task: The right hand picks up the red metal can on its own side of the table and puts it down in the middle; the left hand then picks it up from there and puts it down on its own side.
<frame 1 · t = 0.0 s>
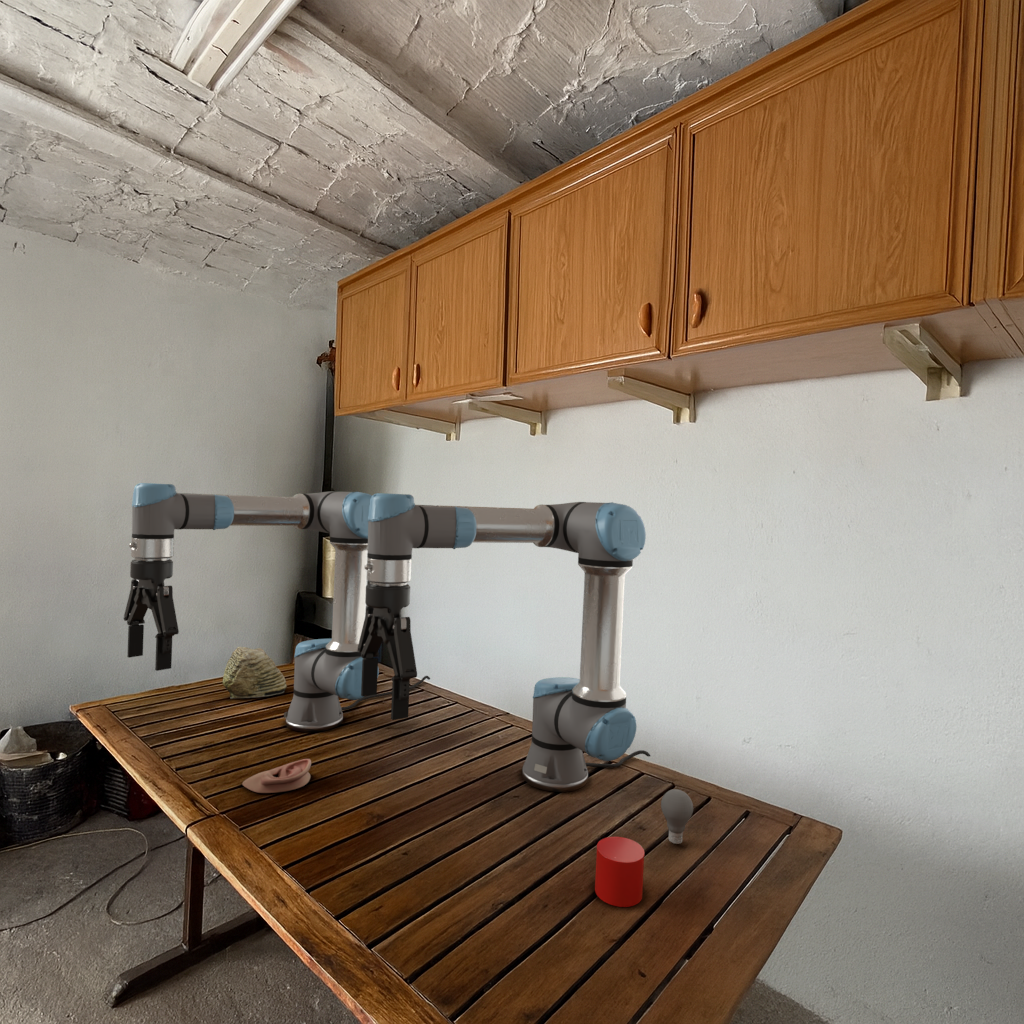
left hand: (148, 662, 129), 28 cm above the table, tool pointing down, fingers open, 13 cm apart
right hand: (383, 706, 109), 28 cm above the table, tool pointing down, fingers open, 13 cm apart
fossil: (254, 694, 198), on the table
anatomical model: (277, 783, 139), on the table
light bulb: (675, 843, 121), on the table
can: (618, 892, 105), on the table
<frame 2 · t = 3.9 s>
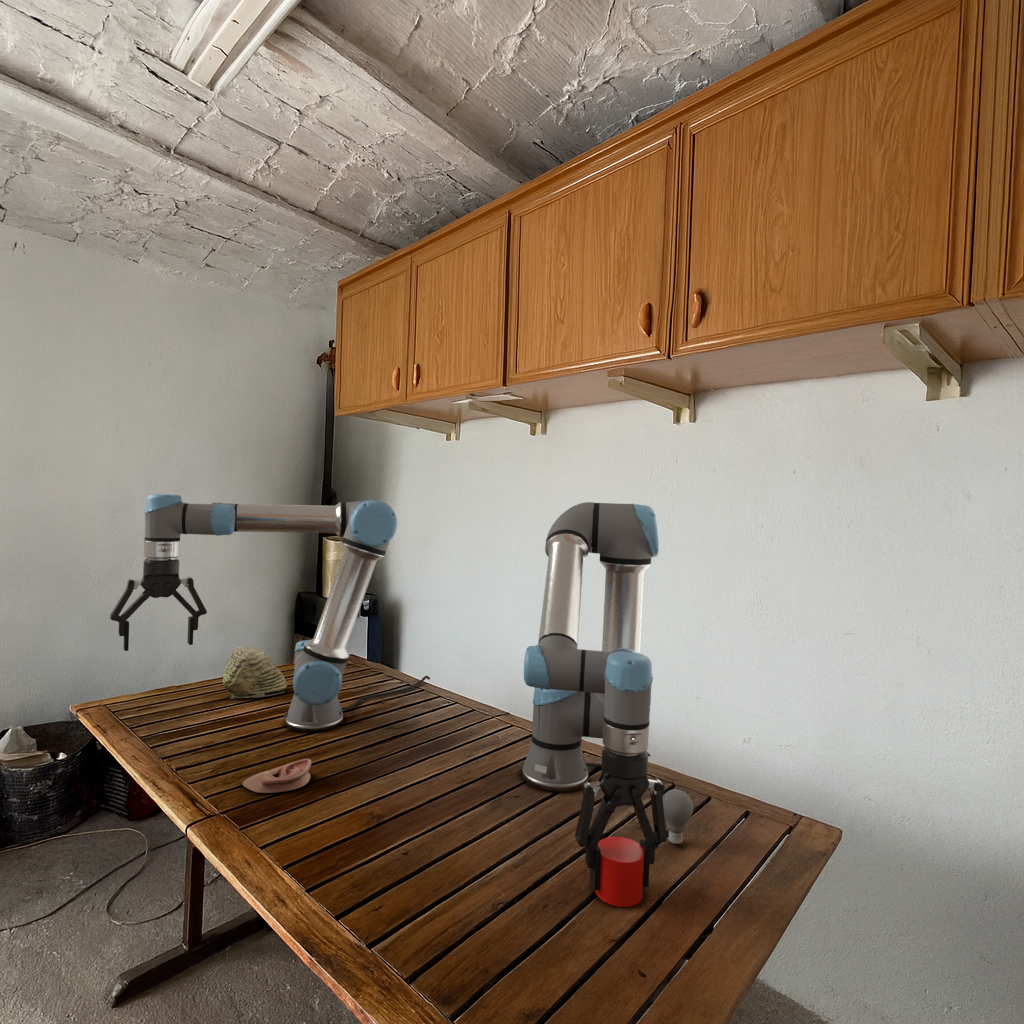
left hand: (158, 646, 152), 26 cm above the table, tool pointing down, fingers open, 13 cm apart
right hand: (618, 883, 105), 1 cm above the table, tool pointing down, fingers closed on can, 8 cm apart
can: (618, 892, 105), on the table, touching right hand
everything else where it was.
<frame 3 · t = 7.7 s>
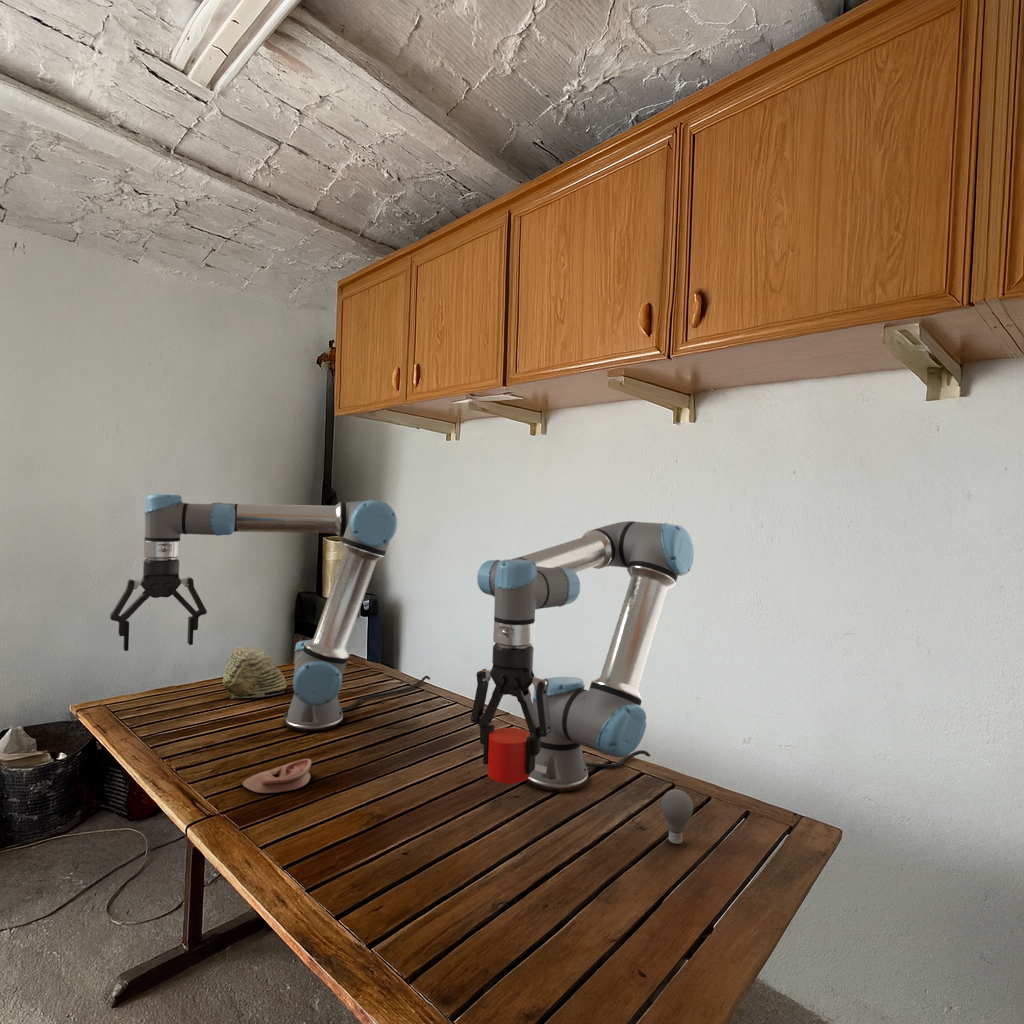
left hand: (158, 646, 152), 26 cm above the table, tool pointing down, fingers open, 13 cm apart
right hand: (508, 766, 117), 15 cm above the table, tool pointing down, fingers closed on can, 8 cm apart
can: (508, 773, 117), point 14 cm above the table, touching right hand
everything else where it was.
when the right hand's fingers open (3 cm above the table, at t = 11.7 s): can drops 2 cm, on the table.
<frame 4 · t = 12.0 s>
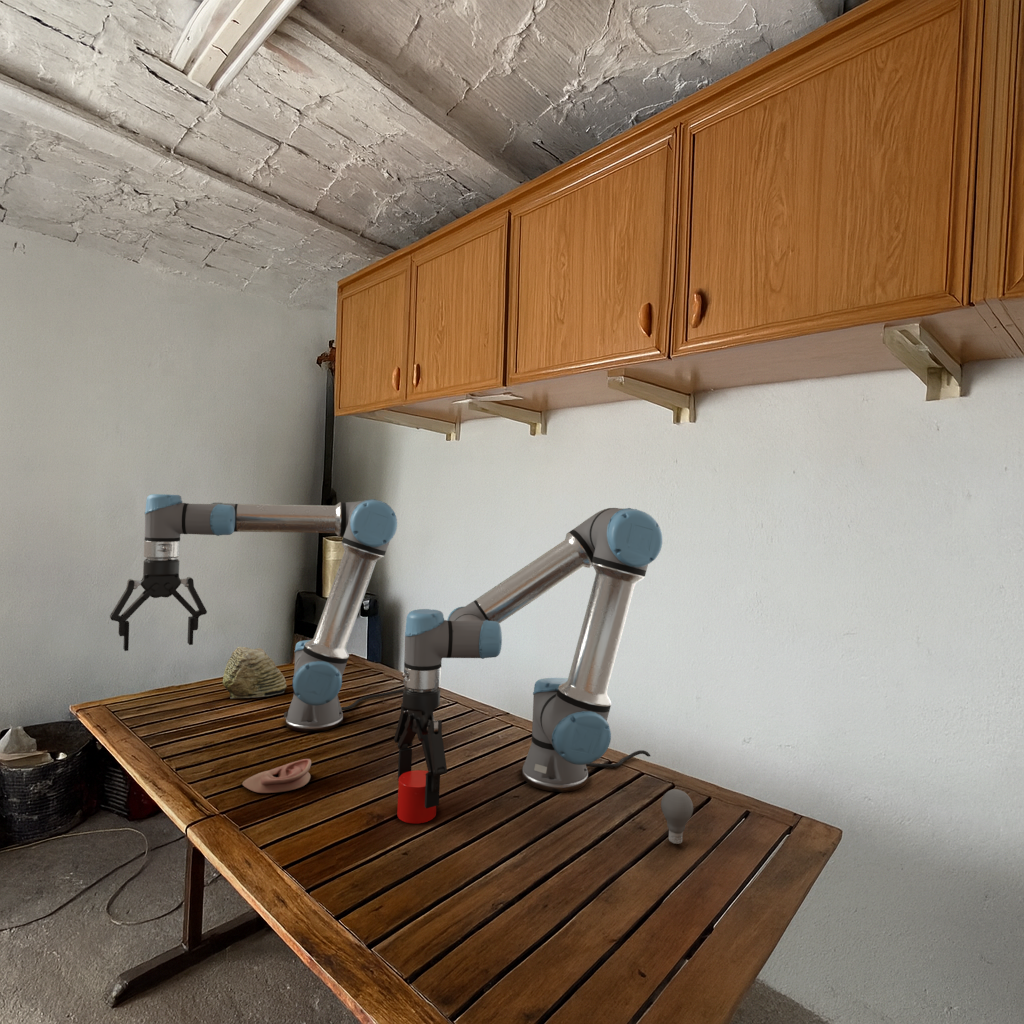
left hand: (158, 646, 152), 26 cm above the table, tool pointing down, fingers open, 13 cm apart
right hand: (417, 792, 128), 4 cm above the table, tool pointing down, fingers open, 12 cm apart
can: (416, 813, 128), on the table
everything else where it was.
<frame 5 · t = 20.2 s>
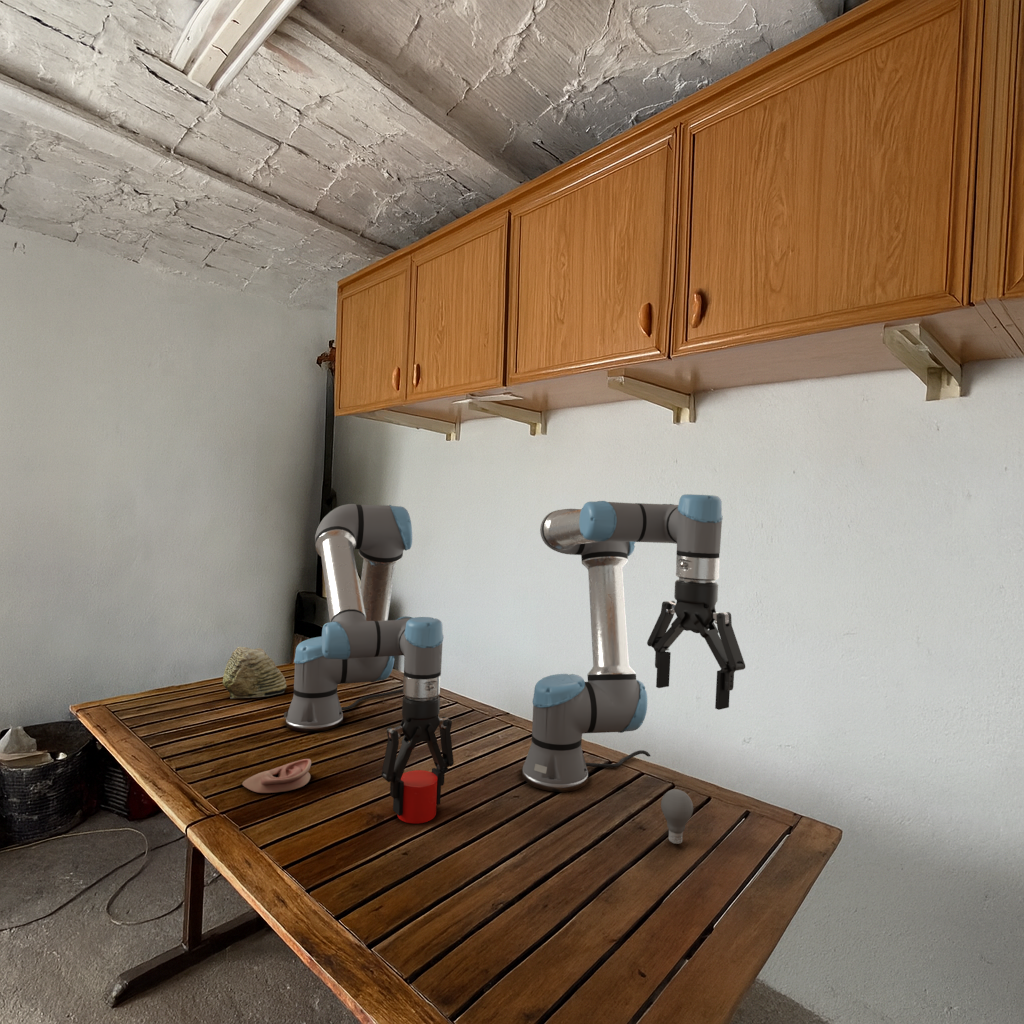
left hand: (416, 806, 128), 1 cm above the table, tool pointing down, fingers closed on can, 8 cm apart
right hand: (690, 697, 115), 30 cm above the table, tool pointing down, fingers open, 13 cm apart
can: (416, 813, 128), on the table, touching left hand
everything else where it was.
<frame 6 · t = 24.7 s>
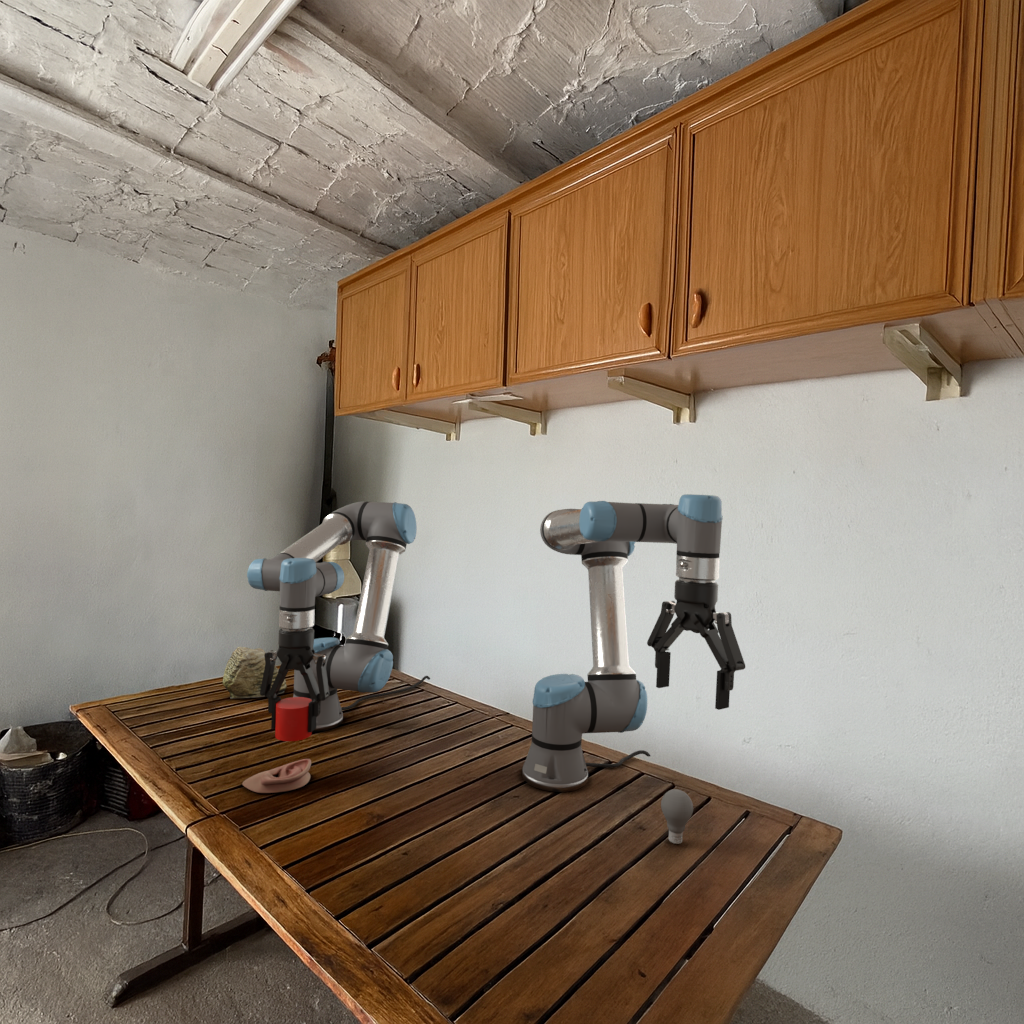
left hand: (293, 728, 142), 11 cm above the table, tool pointing down, fingers closed on can, 8 cm apart
right hand: (690, 697, 115), 30 cm above the table, tool pointing down, fingers open, 13 cm apart
can: (293, 734, 142), point 10 cm above the table, touching left hand
everything else where it was.
when the left hand's fingers open (3 cm above the table, at t = 29.3 s): can drops 2 cm, on the table.
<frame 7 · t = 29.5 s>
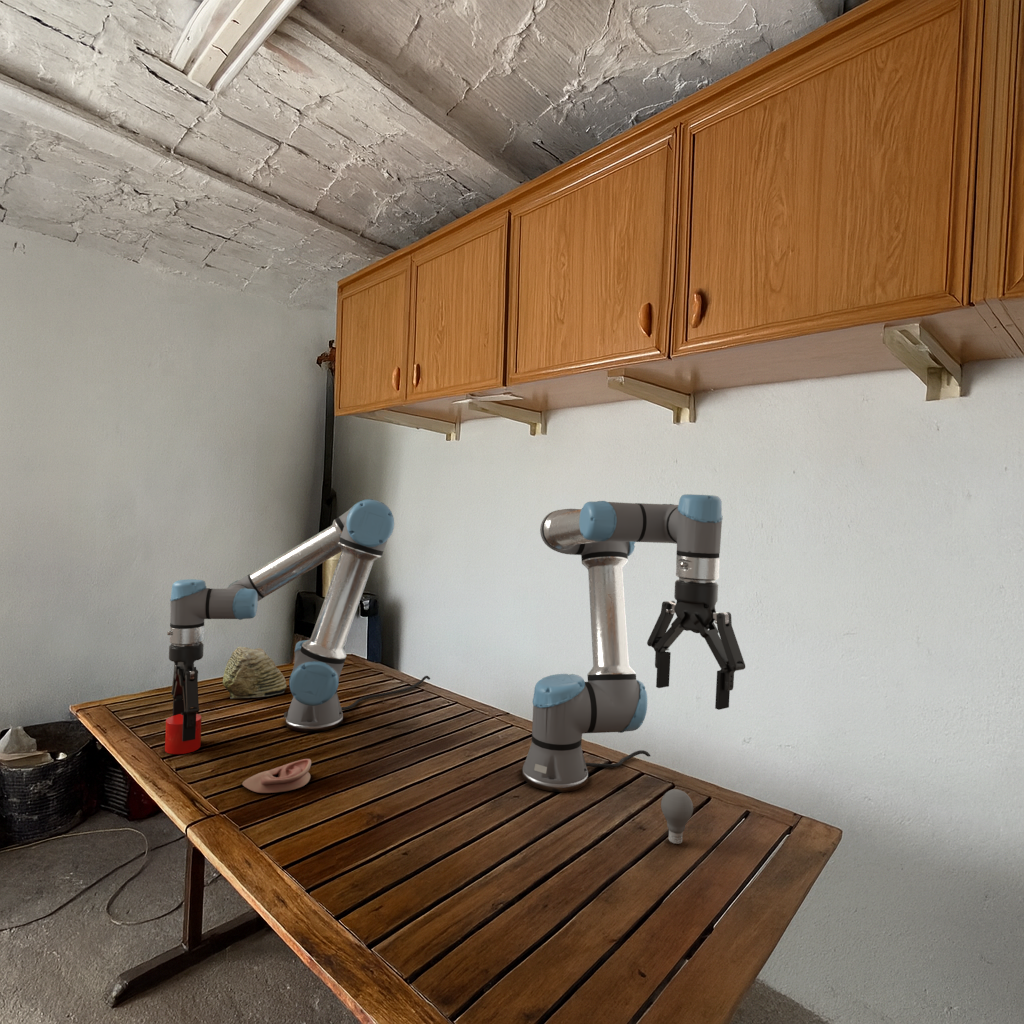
left hand: (183, 732, 156), 4 cm above the table, tool pointing down, fingers open, 10 cm apart
right hand: (690, 697, 115), 30 cm above the table, tool pointing down, fingers open, 13 cm apart
can: (182, 747, 156), on the table
everything else where it was.
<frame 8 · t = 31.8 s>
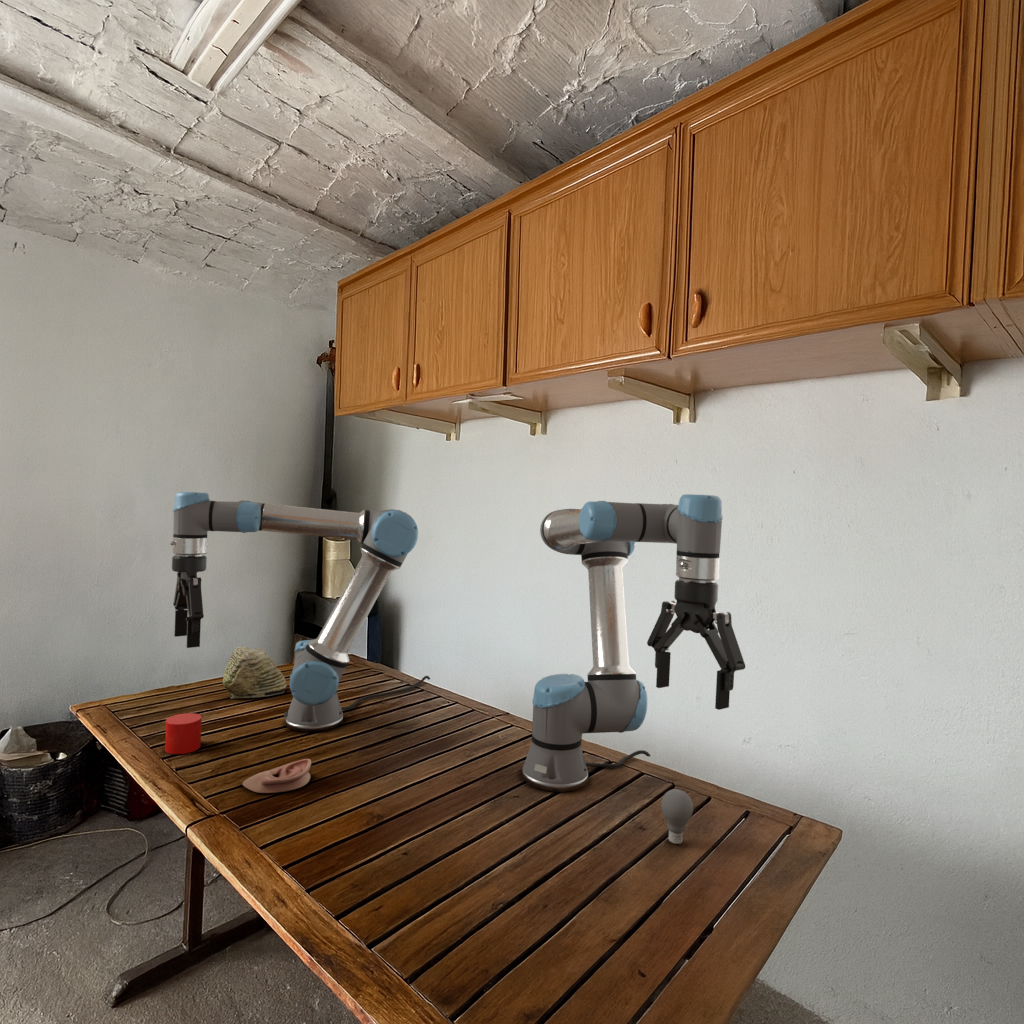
left hand: (186, 641, 155), 26 cm above the table, tool pointing down, fingers open, 13 cm apart
right hand: (690, 697, 115), 30 cm above the table, tool pointing down, fingers open, 13 cm apart
nothing on the table moved.
at the end: can inside the target area (0.0 cm from its centre), on the table; can tilted 0°; the two hands never held the can at the same time; the left hand is holding nothing; the right hand is holding nothing; can at rest at the end (0.0 cm/s) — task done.
